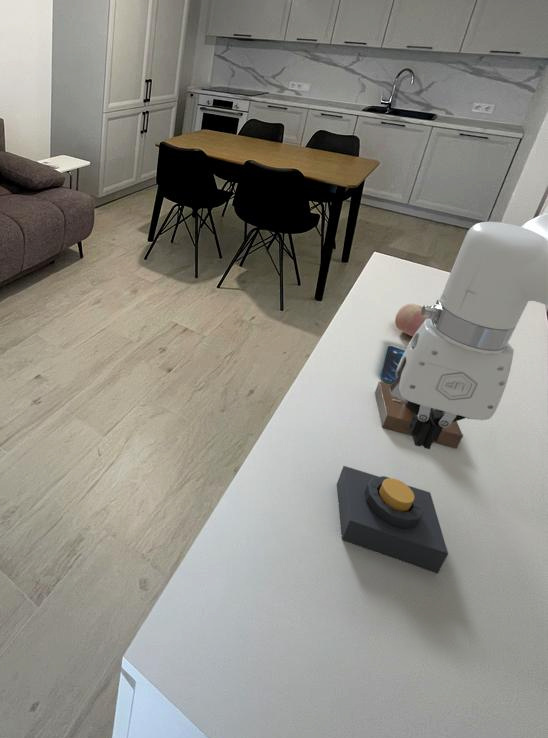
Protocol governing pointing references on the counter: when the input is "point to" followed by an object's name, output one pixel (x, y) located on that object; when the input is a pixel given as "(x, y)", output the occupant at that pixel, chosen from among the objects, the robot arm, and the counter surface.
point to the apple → (409, 319)
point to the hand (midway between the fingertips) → (419, 439)
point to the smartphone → (391, 364)
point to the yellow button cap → (396, 494)
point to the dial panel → (408, 417)
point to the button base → (389, 522)
